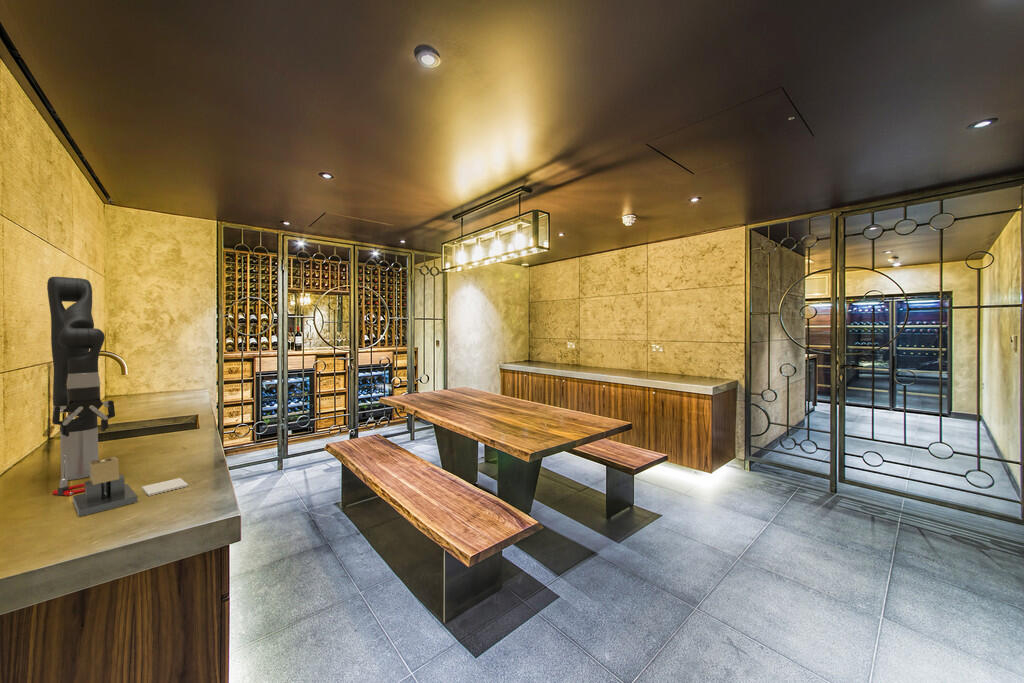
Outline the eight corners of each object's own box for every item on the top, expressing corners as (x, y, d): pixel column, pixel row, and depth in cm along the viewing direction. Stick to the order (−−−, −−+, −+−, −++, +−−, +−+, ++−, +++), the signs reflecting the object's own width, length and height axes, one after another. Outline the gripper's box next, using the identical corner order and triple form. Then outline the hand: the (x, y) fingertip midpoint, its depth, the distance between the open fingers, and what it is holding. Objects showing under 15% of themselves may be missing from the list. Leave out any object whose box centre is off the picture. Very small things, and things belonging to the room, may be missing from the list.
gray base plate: (73, 502, 119) (72, 462, 119) (127, 489, 129) (126, 452, 128) (79, 517, 109) (78, 473, 109) (137, 502, 119) (136, 462, 119)
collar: (90, 480, 118) (89, 461, 118) (116, 475, 123) (115, 456, 123) (92, 484, 115) (92, 464, 115) (119, 479, 119) (118, 459, 119)
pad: (141, 489, 129) (141, 486, 129) (180, 480, 137) (180, 477, 137) (148, 496, 123) (148, 494, 123) (188, 486, 131) (188, 484, 131)
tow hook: (85, 485, 134) (49, 495, 124) (86, 448, 134) (51, 455, 125) (105, 487, 132) (70, 497, 123) (106, 449, 133) (72, 456, 124)
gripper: (110, 383, 140) (111, 428, 140) (49, 388, 128) (51, 437, 128) (116, 384, 136) (117, 430, 136) (54, 389, 124) (56, 439, 124)
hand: (85, 433), depth 132 cm, fingers open, 8 cm apart
